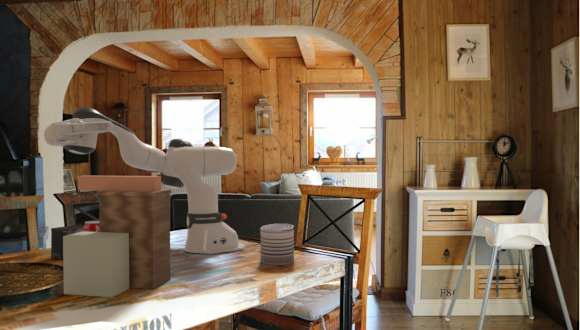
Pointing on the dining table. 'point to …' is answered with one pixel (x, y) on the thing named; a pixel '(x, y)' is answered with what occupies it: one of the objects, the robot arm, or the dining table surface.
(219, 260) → the dining table surface
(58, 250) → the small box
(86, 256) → the low block
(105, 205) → the tall stand
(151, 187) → the rail
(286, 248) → the can
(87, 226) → the soda can
